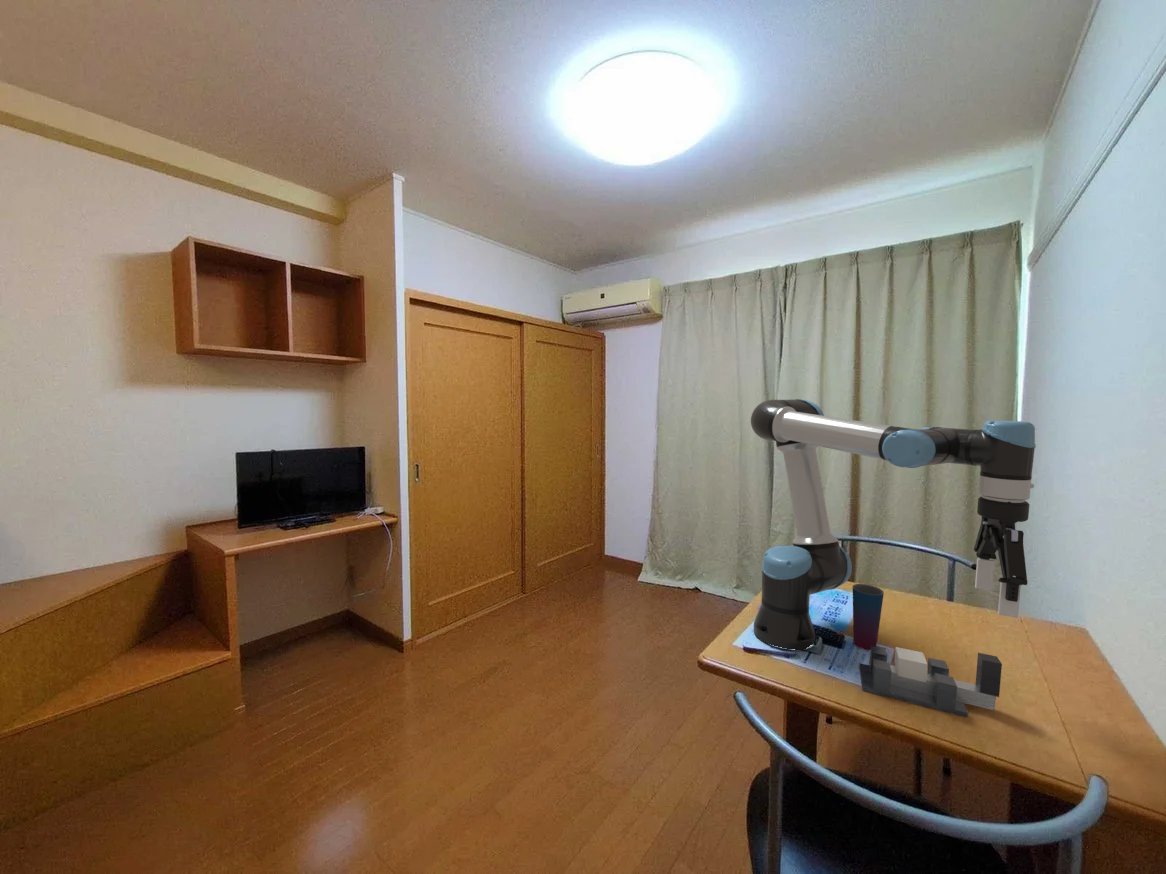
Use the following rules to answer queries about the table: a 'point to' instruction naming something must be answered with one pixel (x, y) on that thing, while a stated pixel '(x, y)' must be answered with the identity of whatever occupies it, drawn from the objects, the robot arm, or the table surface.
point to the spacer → (910, 664)
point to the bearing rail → (879, 683)
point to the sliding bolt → (963, 683)
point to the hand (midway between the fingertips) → (994, 601)
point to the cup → (866, 614)
